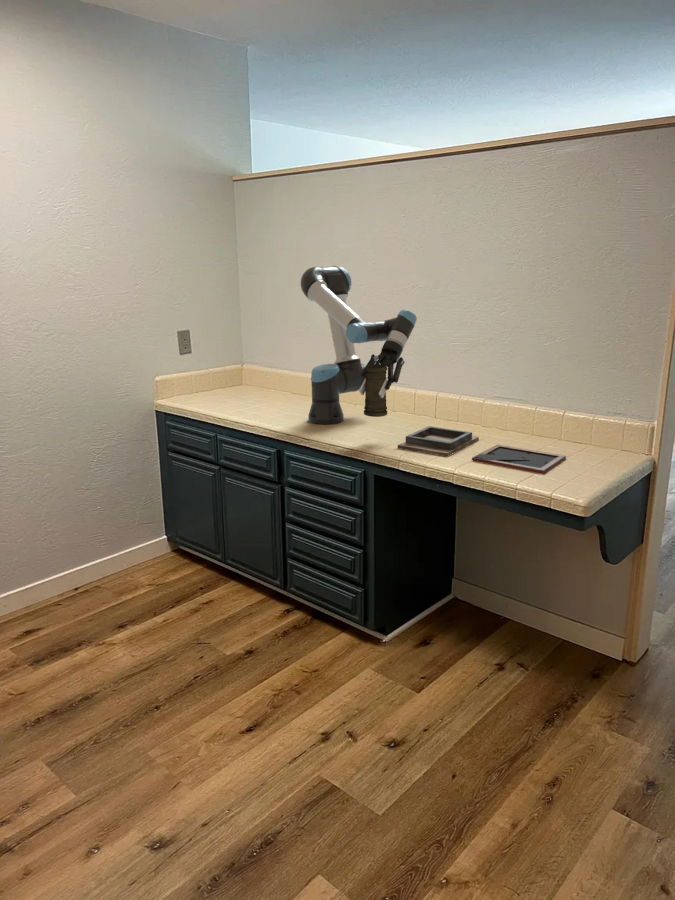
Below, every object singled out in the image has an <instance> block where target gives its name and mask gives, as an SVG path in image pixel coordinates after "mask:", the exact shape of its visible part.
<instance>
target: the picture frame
mask: <svg viewBox="0 0 675 900" xmlns="http://www.w3.org/2000/svg"><path fill="white" fill-rule="evenodd" d="M566 459H567V456H566V455H563V454H556V453H551V452H546V451H540V450H539V451H538V450H534V449H528V448H527V449H526V448H522V447H515V446H508V445H503V444H495V445H494V446H492V447H489V448H488V449H486V450H484V451H482V452H480V453H478V454H476V455H474V456H472V457H471V461H472V460H473V461H472V462H477V463H481V462H482V463H483V464H488V465H493V466H498V467H505V468H510V469H515V470H519V471H520V470H521V471H527V472H531V473H536V474H542V475H544V474H546V473H547V472H548V471H550V470H552V469H553V468H554V467H556V466H557V465H559V464H560V463H563V461H565V460H566Z"/></svg>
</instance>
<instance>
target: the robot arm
mask: <svg viewBox="0 0 675 900" xmlns="http://www.w3.org/2000/svg"><path fill="white" fill-rule="evenodd" d="M300 288H301V291H302V293H303V295H304V296H305V297H306V298H307V299H308V300H309V301H311V302H315V303H316V304H317V305H319V307H320V308H322V310H324V312H326V313H327V315H328V322H329V325H330V331H331V338H332V343H333V346H334V348H333V349H334V352H335V354H334V355H335V359H336V360H335V361H334V362H333V363H326V364H319V365H316V366H314V367H313V368H312V370H311V377H310V381H311V404H310V409H309V412H308V415H307V416H308V417H307V419H308V420H309V421H310V422H309V421H308V422H309V423H311V422H312V424H315V423H318V424H317V425H334V424H338V423H342V422H343V421H344V419H345V417H344V415H345V414H344V412H343V409H342V406H341V403H340V395H341V394H347V393H354V392H357V391H358V392H359V394H360V395H361V396H365V390H366V387H365V386H366V379H365V378H366V373H365V372H366V370H365V367H366V366H370V365H381V366H386V367H387V377H386V379H385V381H384V383H383V385H382V388H381V390H380V392H379V395H380V397H381V398H383V397H384V395H385V393H386V394H387V391H388V390H390V388H391V386H392V384H393V383H396V384H397V383H398V381H399V379H400V375H401V371H402V368H403V365H404V364H405V361H404V358H403V357H402V356H401V355H402V353H403V350H404V348H405V346H406V344H407V342H408V340H409V337H410V336H411V334H412V332H413V330H414V328H415V325H416V322H417V319H418V317H417V315H416V314H415V313H414V312H413V311H411V309H410V310H409V309H406V308H405V309H401V310H400V311H399V312H398V313H397V316H396V317H393V318H389V319H386V320H385V319H384V320H376V321H367V322H366V321H365V320H364V319H362V318H361V317H360V316H359V315H358V313H356V312H355V311H354V310H352V308H351V307H350V306H348V304H347V302H346V300H347V299H348V297H349V292H350V290H351V288H352V277H351V275H350V273H349V272H348V270H347V269H345V268H344V267H342V266H336V265H332V266H331V265H330V266H313V267H310V268H308V269H306V270H305V271H304V272H303V274H302V276H301V278H300ZM376 341H377V342H383V341H385V342H384V344H383V345H382V347H381V349H380V350H381V351H380V353H379V354H378V355H375V354H374V353H373V354H371V355H370V359H369V360H368V362H367V364H366V365H365V364H364V363H362V360H361V358H360V357H359V356H358V355H356V349H355V344H362V343H369V342H376ZM394 365H395V366H394ZM394 367H395V368H394Z"/></svg>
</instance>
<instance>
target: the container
mask: <svg viewBox="0 0 675 900" xmlns="http://www.w3.org/2000/svg"><path fill="white" fill-rule="evenodd" d="M365 366H366V365H365ZM365 370H366V372H365V373H366V378H365V379H366V386H365V387H366V390H365V393H364V396H365V398H364V407H363V409H364V411H363V415H364V416H367V417H371V418H373V417H374V418H377V417H378V418H380V417H386V416H388V410H387V409H388V407H387V392H386V393H385V395H384V397H383V398H381V397H380V395H379V392H380V390H381V388H382V385H383V383H384V381H385V379H387V374H388V367H386V366H381V364H380V365H370V366H366V367H365Z"/></svg>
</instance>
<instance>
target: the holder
mask: <svg viewBox="0 0 675 900" xmlns="http://www.w3.org/2000/svg"><path fill="white" fill-rule="evenodd" d="M479 439H480V437H479V436H475V435H473V432H472V431H465V430H459V429H457V430H456V429H451V428H445V427H438V426H430V425H429V426H426V427H424V428H422V429H419V430H417V431H414V432H412V433H410V434H408V435H406V436H405V441H403V442H402V443H400V444H398V445H397V449H399V448H402V449H401V450H405V449H407V450H406V451H411V450H412V452H417V451H418V452H417V453H423V452H425V453H424V454H429V453H432V454H431V455H435V454H438V455H437V456H440V455H443V457H446V456H448V455H450V454H452V453H454V452H455V453H457V452H459V451H461V450H462V448H463V449H465V448H467V447H468V446H471V445H472V444H473V443H476V442H478V441H479ZM477 440H478V441H477ZM466 446H467V447H466ZM464 447H465V448H464ZM460 449H461V450H460ZM458 450H459V451H458ZM456 451H457V452H456ZM455 453H454V454H455ZM452 455H453V454H452ZM450 456H451V455H450ZM448 457H449V456H448Z"/></svg>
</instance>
